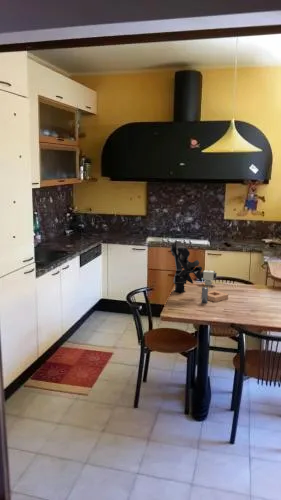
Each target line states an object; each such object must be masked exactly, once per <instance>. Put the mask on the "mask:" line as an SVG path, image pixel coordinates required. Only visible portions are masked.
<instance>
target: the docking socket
mask: <svg viewBox="0 0 281 500" xmlns="http://www.w3.org/2000/svg"><path fill="white" fill-rule="evenodd" d="M200 296H201V297H200V298H202V292H201V295H200ZM228 299H229V293H225V292H222V291H218V290H215V289H213V290H208V301H210V302H214V303H216V302H220V301H226V300H228Z"/></svg>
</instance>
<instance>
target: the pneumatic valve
mask: <svg viewBox="0 0 281 500" xmlns="http://www.w3.org/2000/svg"><path fill="white" fill-rule="evenodd" d="M201 278H202V281H203V280H204V285H205V286H212V284H213V282H212V281H215V279H217V272H216V270H210V269H208V270H203V269H202V271H201Z"/></svg>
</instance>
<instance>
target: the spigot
mask: <svg viewBox="0 0 281 500" xmlns="http://www.w3.org/2000/svg"><path fill="white" fill-rule="evenodd" d="M208 291H209V288H208V287H205V286H204V287H201V293H202V297H201V304H208V301H209V300H208Z"/></svg>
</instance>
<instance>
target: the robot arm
mask: <svg viewBox="0 0 281 500" xmlns="http://www.w3.org/2000/svg"><path fill="white" fill-rule="evenodd" d="M170 252H171V255H172V256H173V257H174V263H175V273H174V276H173V284H175V285H174V290H173V292H175V293H179V294H180V293H185V292H186V290H185V285H186V284H187V282H188V283H190V284H194V282H193V279H192V277H191V276H190V274H193V275H194V277H195V278H196V279H198V281H200V282H203V280H202V279H203V278H201V272H203V268H202V266H201V265H200V261H199V260H198V259H196V260H194V261H193V262H192V261H190V260H189V257H190V251H189V249H188V248H187V247H186V246H184V245H183V243H182V241H180V240H178V241H176V240H175V241H174V243H171V245H170Z"/></svg>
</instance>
